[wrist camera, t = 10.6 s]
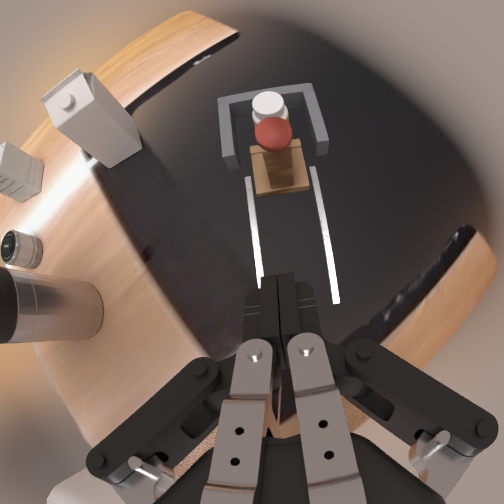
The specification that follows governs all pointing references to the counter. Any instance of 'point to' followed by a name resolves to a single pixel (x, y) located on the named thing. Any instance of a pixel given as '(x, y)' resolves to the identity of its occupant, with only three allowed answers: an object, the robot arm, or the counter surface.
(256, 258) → the track
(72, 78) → the milk carton
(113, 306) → the counter surface
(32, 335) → the robot arm
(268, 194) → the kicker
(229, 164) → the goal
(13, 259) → the camera lens
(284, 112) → the supplement bottle
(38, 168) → the supplement box
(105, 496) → the bottle
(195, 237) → the counter surface
